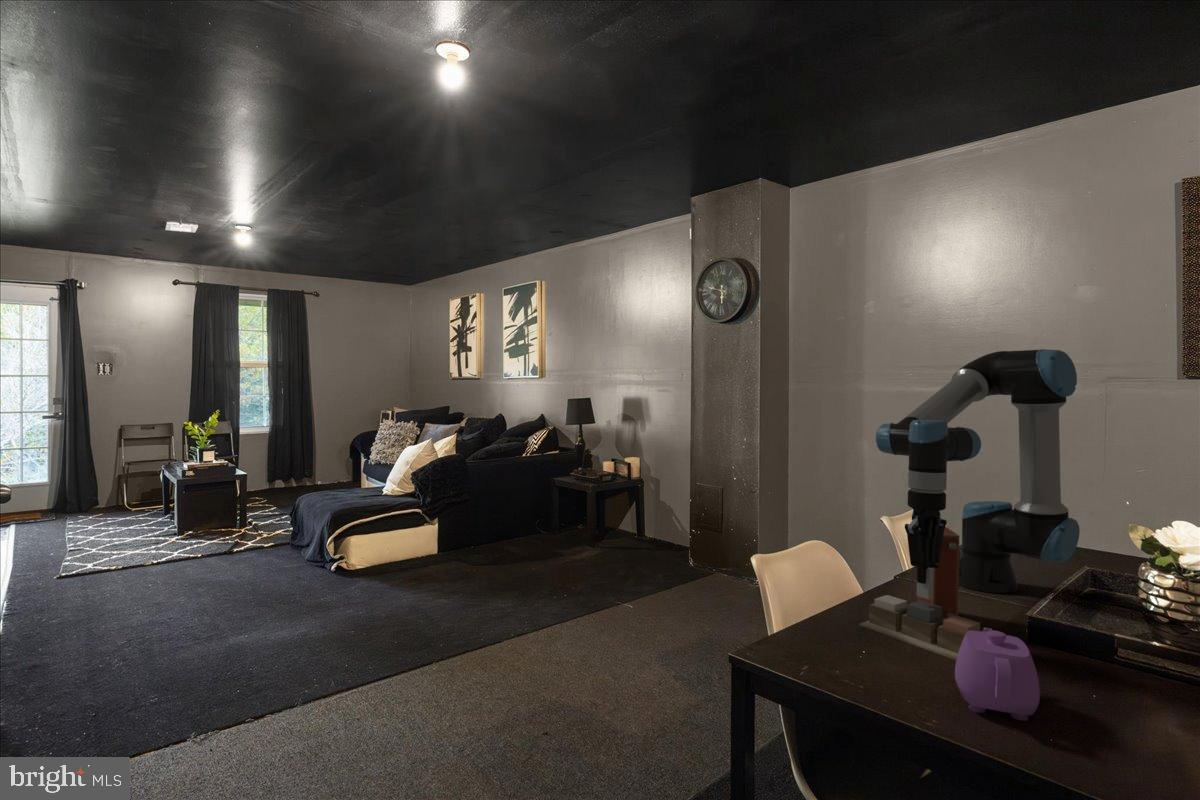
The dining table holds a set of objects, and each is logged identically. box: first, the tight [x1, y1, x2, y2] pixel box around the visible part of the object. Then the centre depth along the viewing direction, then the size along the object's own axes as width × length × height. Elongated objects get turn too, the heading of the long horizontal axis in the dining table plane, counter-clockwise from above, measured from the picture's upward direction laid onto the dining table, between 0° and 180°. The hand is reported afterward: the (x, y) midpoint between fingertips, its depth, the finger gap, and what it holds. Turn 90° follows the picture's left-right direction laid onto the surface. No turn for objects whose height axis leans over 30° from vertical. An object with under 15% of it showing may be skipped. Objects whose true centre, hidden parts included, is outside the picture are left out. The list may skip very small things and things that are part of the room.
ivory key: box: [873, 594, 908, 612], centre depth 148 cm, size 5×5×4 cm
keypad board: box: [858, 603, 984, 661], centre depth 141 cm, size 12×24×4 cm, turn 34°
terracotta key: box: [943, 615, 981, 635], centre depth 135 cm, size 5×5×4 cm
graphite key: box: [907, 600, 942, 624], centre depth 141 cm, size 5×5×4 cm
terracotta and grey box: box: [917, 525, 961, 619], centre depth 153 cm, size 21×7×15 cm
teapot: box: [954, 627, 1041, 722], centre depth 112 cm, size 20×12×13 cm, turn 156°
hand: (924, 596), depth 141 cm, fingers closed
